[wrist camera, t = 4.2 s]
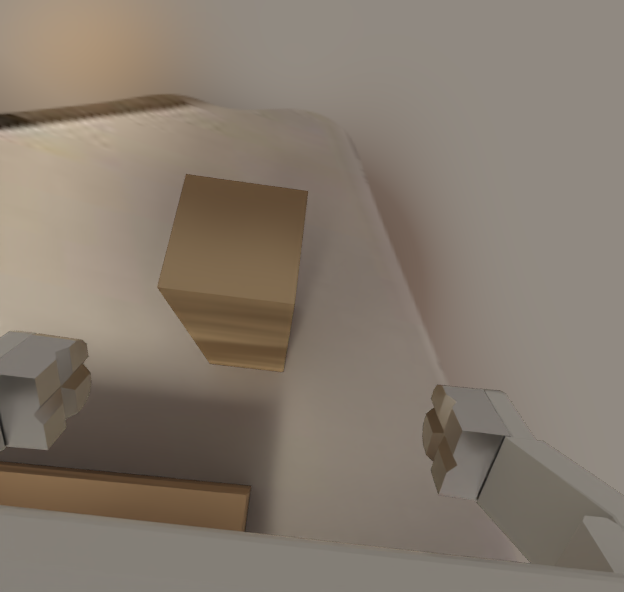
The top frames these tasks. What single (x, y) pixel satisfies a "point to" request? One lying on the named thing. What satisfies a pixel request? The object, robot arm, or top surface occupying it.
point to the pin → (235, 269)
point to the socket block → (125, 496)
